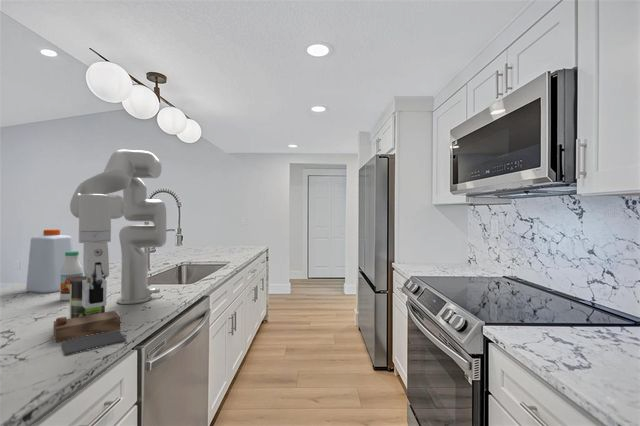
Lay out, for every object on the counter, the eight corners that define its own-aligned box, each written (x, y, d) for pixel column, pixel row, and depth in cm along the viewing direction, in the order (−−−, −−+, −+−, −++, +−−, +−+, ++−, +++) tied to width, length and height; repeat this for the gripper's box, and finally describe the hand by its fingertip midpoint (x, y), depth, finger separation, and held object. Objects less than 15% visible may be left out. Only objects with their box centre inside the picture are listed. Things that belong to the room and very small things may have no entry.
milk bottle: (55, 299, 135) (56, 251, 135) (75, 295, 142) (75, 249, 142) (67, 301, 132) (67, 253, 132) (87, 297, 139) (87, 250, 139)
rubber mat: (118, 332, 101) (118, 330, 101) (126, 341, 94) (126, 339, 94) (61, 344, 91) (61, 342, 91) (65, 355, 85) (65, 353, 85)
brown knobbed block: (114, 322, 109) (114, 305, 109) (120, 329, 104) (120, 311, 104) (53, 334, 98) (53, 316, 98) (55, 342, 93) (56, 323, 93)
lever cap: (102, 301, 96) (103, 275, 96) (106, 305, 92) (106, 277, 92) (82, 304, 92) (82, 277, 92) (84, 308, 89) (85, 280, 89)
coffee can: (110, 317, 115) (111, 277, 115) (77, 325, 106) (77, 282, 106) (96, 311, 120) (97, 274, 120) (63, 319, 112) (64, 278, 112)
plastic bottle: (47, 294, 143) (47, 231, 143) (21, 291, 146) (21, 230, 146) (79, 286, 158) (80, 229, 157) (55, 284, 161) (55, 228, 161)
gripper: (117, 238, 89) (116, 304, 89) (104, 234, 101) (104, 293, 101) (83, 239, 84) (82, 310, 84) (74, 235, 96) (74, 297, 96)
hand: (94, 300), depth 92 cm, fingers closed on lever cap, 5 cm apart
